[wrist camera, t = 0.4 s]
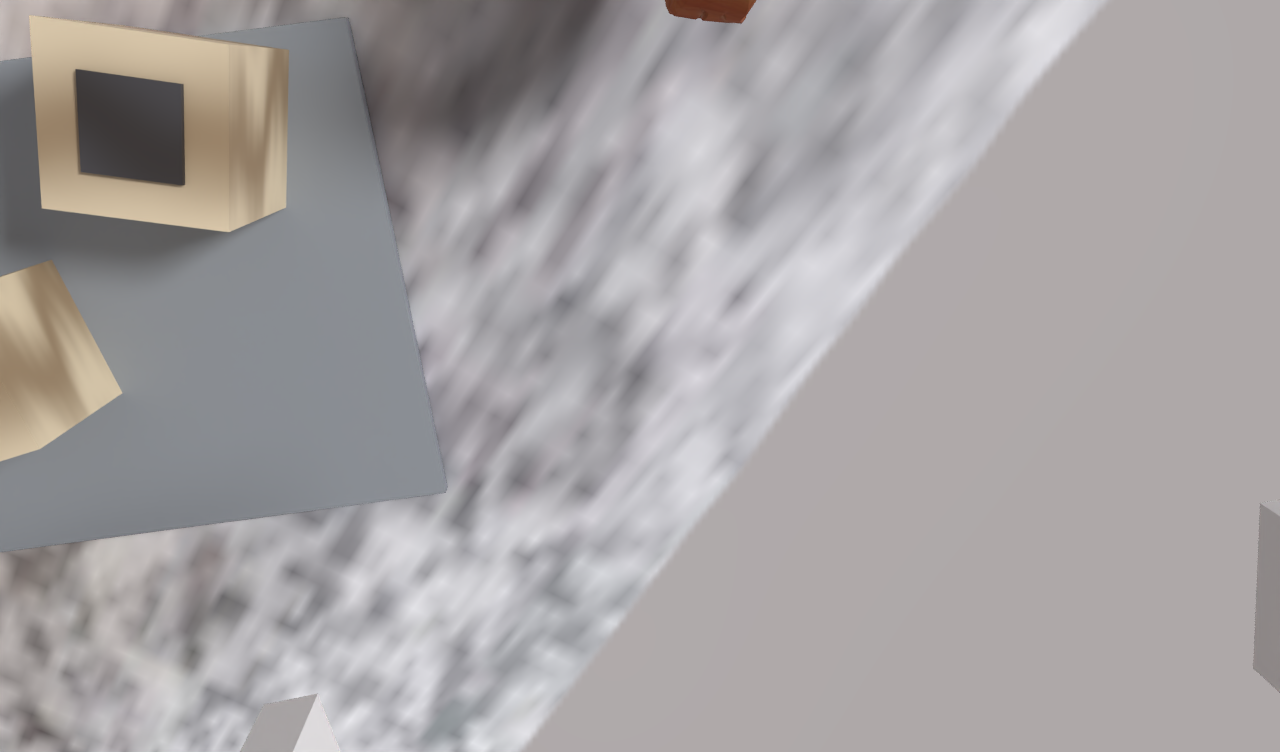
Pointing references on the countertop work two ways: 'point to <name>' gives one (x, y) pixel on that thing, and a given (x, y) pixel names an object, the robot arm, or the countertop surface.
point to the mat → (229, 333)
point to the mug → (711, 9)
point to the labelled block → (159, 124)
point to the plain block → (45, 362)
